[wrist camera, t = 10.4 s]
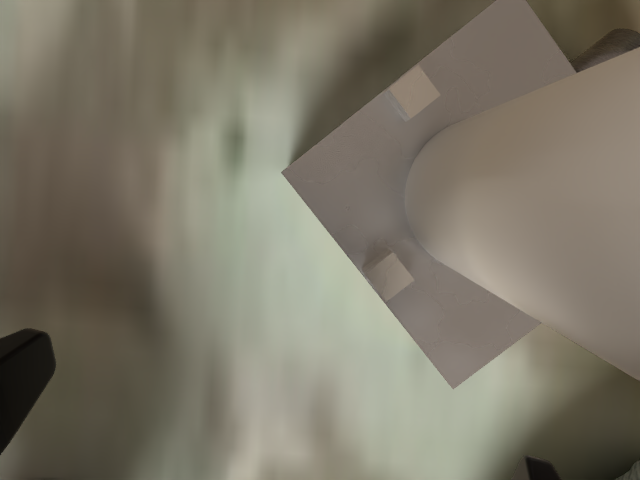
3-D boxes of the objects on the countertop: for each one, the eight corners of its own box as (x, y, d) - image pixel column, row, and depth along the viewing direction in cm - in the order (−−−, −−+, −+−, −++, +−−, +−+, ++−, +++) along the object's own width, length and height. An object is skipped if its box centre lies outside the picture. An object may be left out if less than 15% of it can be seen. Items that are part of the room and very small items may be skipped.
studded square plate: (427, 352, 23) (461, 400, 18) (286, 173, 22) (279, 171, 17) (670, 168, 22) (775, 165, 17) (535, -26, 21) (605, -90, 16)
